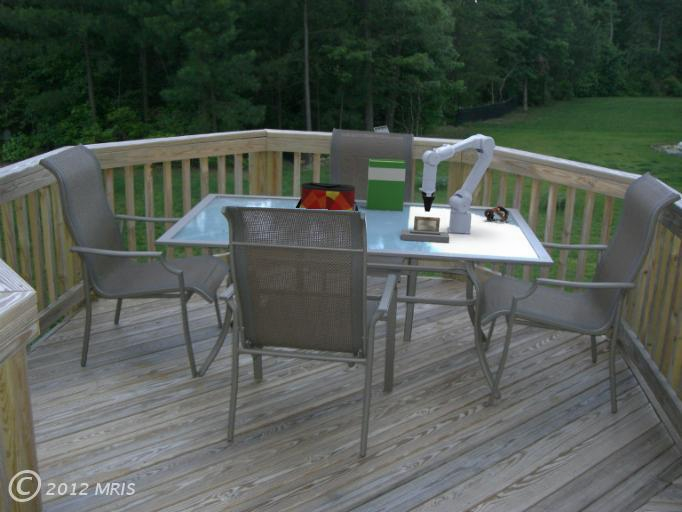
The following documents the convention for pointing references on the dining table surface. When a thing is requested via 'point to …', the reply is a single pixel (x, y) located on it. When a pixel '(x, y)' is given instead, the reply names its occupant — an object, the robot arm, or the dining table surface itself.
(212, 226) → the dining table surface
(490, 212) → the dark brown curved piece
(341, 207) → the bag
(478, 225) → the dining table surface
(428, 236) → the panel with rectangular hole
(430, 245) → the dining table surface
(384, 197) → the hardback book
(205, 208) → the dining table surface
